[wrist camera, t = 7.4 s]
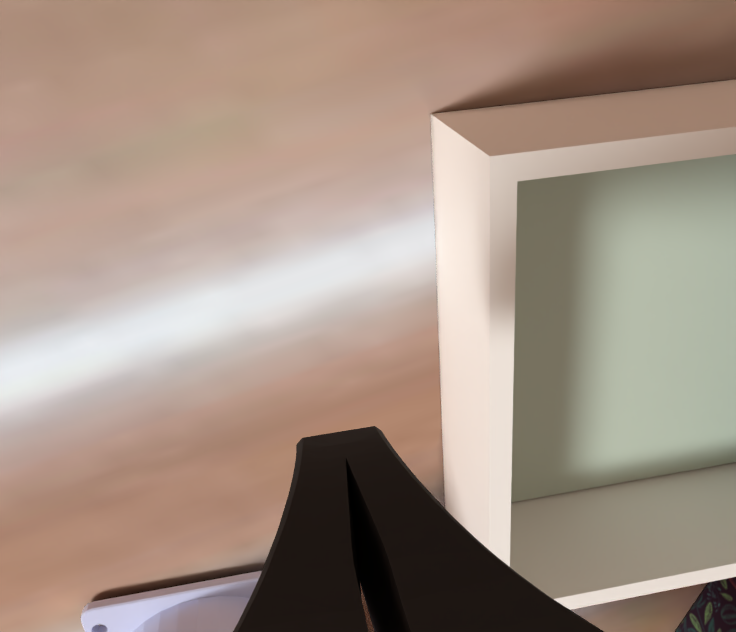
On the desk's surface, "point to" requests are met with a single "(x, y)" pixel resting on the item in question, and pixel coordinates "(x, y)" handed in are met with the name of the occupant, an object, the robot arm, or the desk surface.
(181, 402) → the desk surface
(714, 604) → the coffee bag
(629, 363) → the white box
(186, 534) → the desk surface
